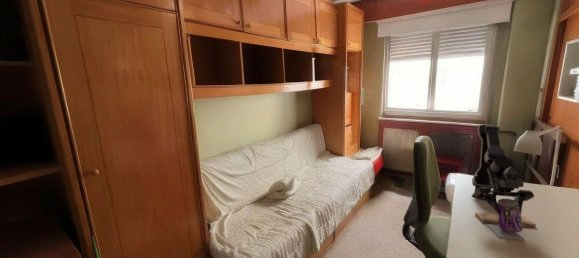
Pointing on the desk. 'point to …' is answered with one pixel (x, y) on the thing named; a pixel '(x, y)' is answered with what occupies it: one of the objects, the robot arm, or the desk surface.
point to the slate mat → (503, 232)
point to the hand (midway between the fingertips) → (509, 214)
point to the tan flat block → (494, 220)
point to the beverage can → (509, 215)
